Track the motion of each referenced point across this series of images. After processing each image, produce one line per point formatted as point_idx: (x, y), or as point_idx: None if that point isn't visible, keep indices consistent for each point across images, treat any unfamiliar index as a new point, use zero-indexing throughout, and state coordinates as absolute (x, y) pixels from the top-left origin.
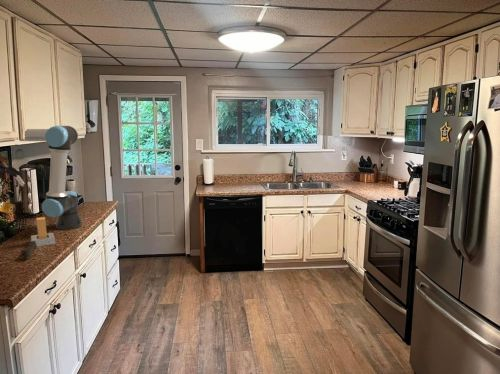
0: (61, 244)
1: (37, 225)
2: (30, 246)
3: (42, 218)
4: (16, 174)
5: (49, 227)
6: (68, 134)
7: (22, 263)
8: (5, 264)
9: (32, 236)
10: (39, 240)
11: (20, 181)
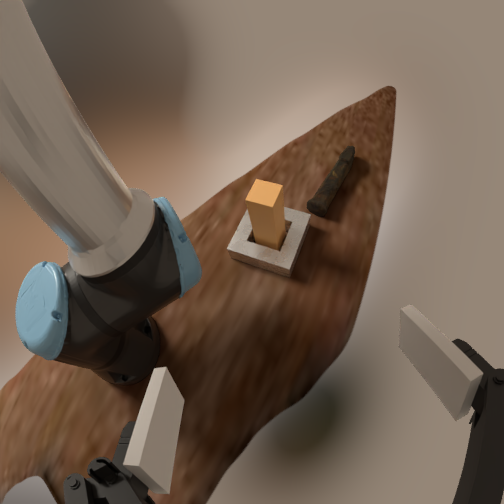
0: None
1: (280, 207)
2: (329, 181)
3: (260, 188)
4: (134, 492)
5: None
6: None
7: (361, 149)
8: (388, 166)
9: (289, 257)
10: (291, 209)
11: (165, 414)
